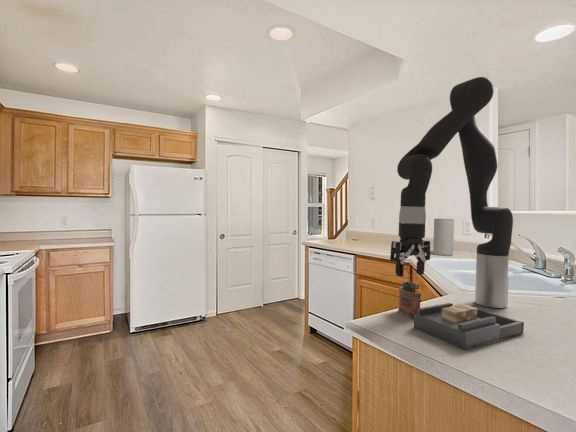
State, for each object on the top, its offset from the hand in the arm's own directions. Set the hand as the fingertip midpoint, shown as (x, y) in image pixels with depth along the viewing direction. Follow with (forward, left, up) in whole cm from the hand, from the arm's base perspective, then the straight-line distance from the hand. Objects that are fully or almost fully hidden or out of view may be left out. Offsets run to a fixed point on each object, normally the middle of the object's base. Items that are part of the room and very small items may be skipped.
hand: (409, 275), depth 98 cm
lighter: (0, 0, -12) cm, 12 cm away
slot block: (+1, +16, -12) cm, 20 cm away
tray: (-11, +16, -12) cm, 23 cm away
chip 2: (-3, +16, -8) cm, 18 cm away
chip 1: (+1, +16, -8) cm, 18 cm away
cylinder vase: (-121, -82, -12) cm, 147 cm away
